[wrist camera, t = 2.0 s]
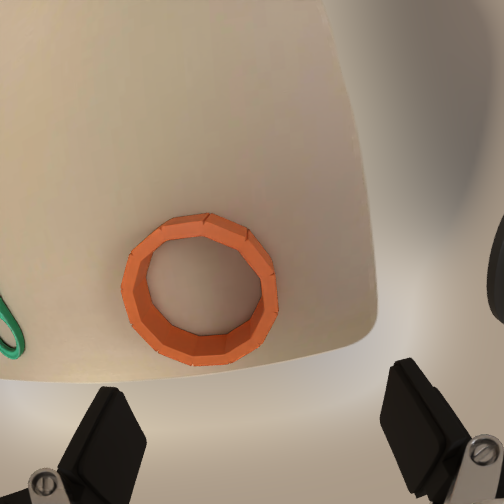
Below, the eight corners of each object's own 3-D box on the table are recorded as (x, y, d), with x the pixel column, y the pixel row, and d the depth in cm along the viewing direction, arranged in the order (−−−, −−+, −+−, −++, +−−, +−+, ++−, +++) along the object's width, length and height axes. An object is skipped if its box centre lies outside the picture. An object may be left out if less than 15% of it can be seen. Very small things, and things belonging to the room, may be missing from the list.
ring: (266, 205, 21) (268, 211, 18) (280, 338, 24) (283, 359, 21) (123, 225, 22) (106, 234, 19) (154, 347, 25) (145, 367, 22)
